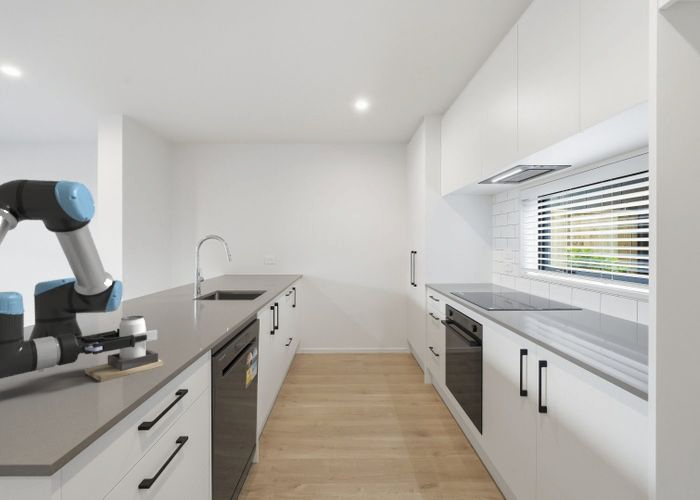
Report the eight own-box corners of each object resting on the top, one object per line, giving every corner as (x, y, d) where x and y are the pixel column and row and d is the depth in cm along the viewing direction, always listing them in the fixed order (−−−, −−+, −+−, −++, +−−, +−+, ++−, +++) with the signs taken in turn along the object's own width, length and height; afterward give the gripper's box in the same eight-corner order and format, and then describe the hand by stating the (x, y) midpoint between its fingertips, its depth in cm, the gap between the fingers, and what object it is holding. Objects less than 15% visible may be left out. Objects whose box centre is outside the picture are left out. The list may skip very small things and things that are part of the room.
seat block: (85, 373, 100) (85, 359, 100) (145, 358, 113) (145, 346, 113) (101, 381, 93) (101, 367, 93) (163, 365, 106) (163, 352, 106)
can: (133, 362, 101) (133, 320, 100) (114, 361, 102) (113, 319, 102) (150, 356, 107) (150, 315, 107) (132, 354, 108) (131, 315, 108)
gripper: (44, 358, 96) (136, 340, 114) (68, 374, 84) (167, 350, 103) (43, 330, 96) (136, 316, 114) (68, 342, 84) (167, 324, 103)
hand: (151, 332), depth 109 cm, fingers closed on can, 6 cm apart
